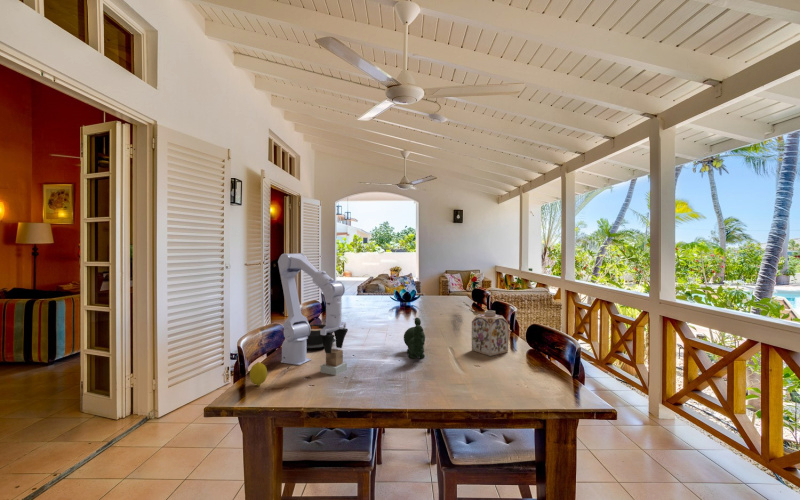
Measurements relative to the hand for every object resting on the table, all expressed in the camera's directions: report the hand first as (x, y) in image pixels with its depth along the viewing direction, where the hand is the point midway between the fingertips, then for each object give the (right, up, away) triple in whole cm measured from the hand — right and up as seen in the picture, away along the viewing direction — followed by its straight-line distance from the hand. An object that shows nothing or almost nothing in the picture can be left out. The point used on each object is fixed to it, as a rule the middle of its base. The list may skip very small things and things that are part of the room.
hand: (333, 350), depth 146 cm
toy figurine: (+32, -8, +20) cm, 38 cm away
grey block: (0, -8, 0) cm, 8 cm away
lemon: (-23, -8, -15) cm, 29 cm away
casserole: (-15, -8, +38) cm, 42 cm away
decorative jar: (+65, -8, +27) cm, 71 cm away
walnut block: (0, -5, 0) cm, 5 cm away
